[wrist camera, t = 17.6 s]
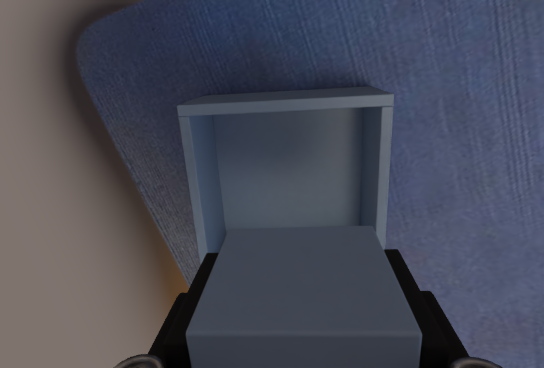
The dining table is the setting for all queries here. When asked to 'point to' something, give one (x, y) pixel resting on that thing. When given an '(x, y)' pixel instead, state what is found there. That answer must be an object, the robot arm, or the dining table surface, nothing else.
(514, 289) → the dining table surface
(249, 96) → the slate bin
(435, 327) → the robot arm
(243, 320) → the slate block
